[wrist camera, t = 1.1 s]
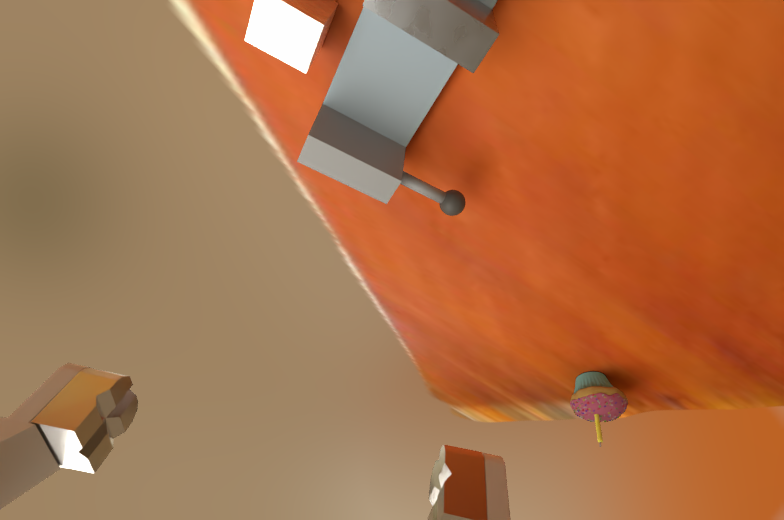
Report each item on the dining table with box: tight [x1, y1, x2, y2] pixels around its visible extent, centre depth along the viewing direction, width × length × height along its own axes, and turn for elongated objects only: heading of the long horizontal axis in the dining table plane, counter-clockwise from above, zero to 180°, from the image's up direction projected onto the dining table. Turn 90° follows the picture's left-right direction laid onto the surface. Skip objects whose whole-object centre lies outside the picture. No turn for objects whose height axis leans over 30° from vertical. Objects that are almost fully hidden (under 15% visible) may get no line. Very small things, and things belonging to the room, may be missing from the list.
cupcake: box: [570, 372, 628, 447], centre depth 67 cm, size 9×8×12 cm
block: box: [245, 0, 338, 73], centre depth 34 cm, size 4×5×6 cm
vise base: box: [297, 0, 498, 216], centre depth 36 cm, size 18×17×8 cm
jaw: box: [363, 0, 499, 73], centre depth 31 cm, size 3×9×6 cm, turn 62°
